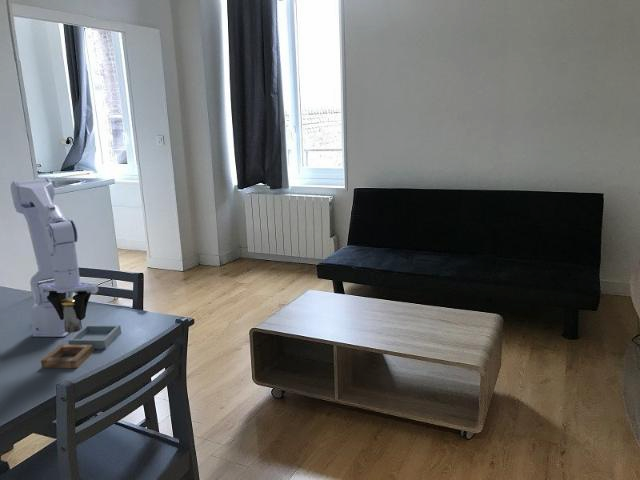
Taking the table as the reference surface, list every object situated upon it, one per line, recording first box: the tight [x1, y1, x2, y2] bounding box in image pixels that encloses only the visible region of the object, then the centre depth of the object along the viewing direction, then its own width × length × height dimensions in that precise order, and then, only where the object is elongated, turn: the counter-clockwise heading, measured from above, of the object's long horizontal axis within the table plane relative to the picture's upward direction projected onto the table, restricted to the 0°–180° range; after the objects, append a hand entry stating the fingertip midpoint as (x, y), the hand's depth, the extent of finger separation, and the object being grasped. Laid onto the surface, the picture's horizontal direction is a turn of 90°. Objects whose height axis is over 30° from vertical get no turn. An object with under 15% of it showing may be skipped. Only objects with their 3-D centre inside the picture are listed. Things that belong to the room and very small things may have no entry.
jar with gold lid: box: [60, 297, 83, 334], centre depth 136 cm, size 5×5×8 cm
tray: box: [67, 324, 122, 350], centre depth 146 cm, size 10×10×2 cm
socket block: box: [40, 343, 95, 369], centre depth 135 cm, size 9×9×2 cm
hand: (72, 318), depth 137 cm, fingers closed on jar with gold lid, 4 cm apart
